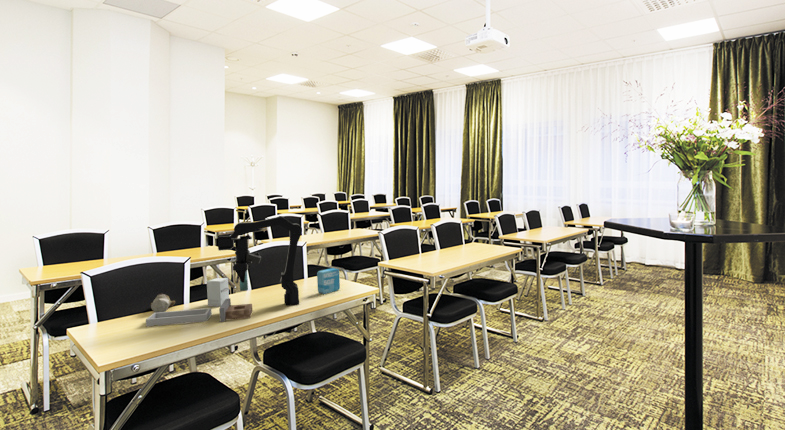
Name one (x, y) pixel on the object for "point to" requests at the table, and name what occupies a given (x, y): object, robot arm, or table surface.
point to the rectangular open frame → (179, 317)
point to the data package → (328, 280)
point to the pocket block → (239, 311)
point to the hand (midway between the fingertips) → (243, 281)
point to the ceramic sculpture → (161, 303)
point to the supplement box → (217, 291)
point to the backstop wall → (224, 309)
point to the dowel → (244, 284)
